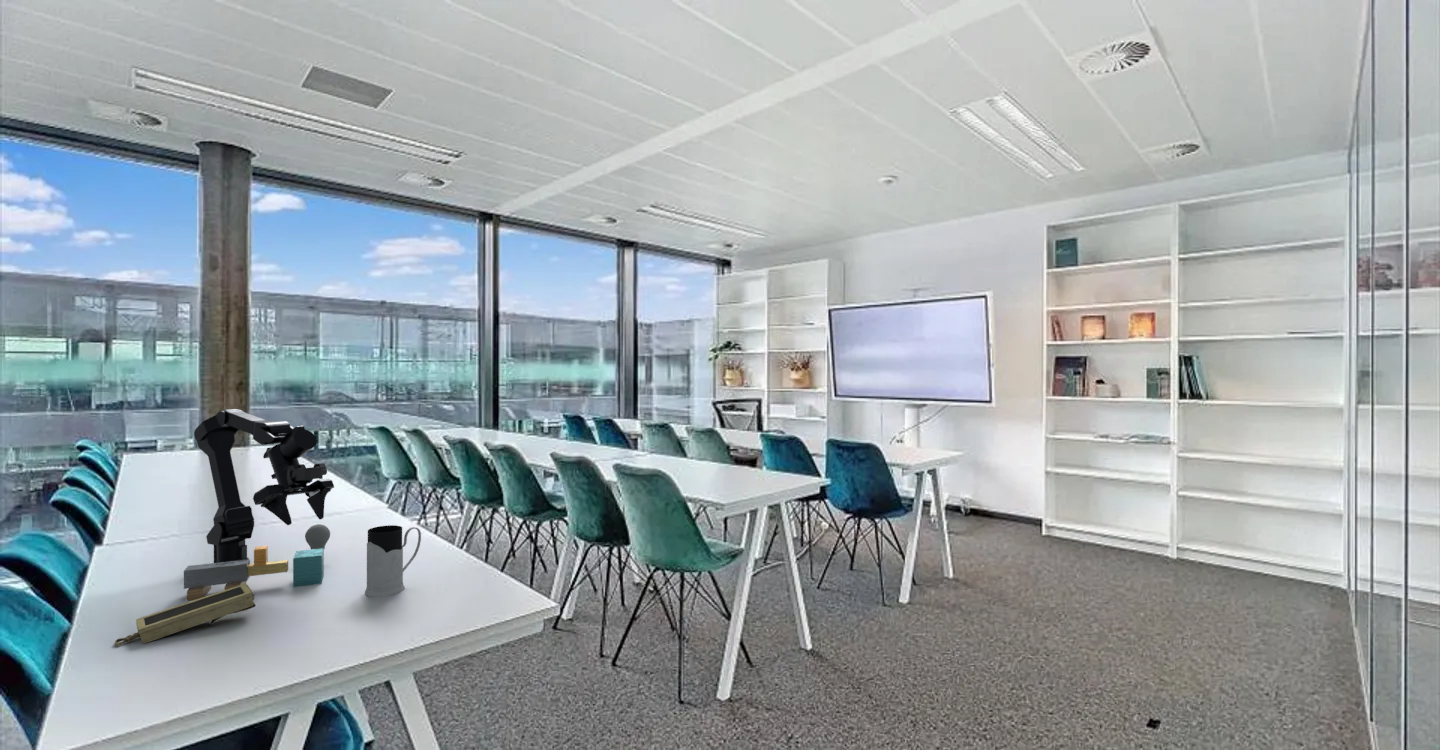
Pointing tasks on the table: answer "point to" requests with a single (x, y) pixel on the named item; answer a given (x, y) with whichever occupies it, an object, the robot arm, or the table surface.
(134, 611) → the table surface
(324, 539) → the light bulb
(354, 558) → the table surface
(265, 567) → the yellow sliding bolt
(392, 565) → the glass holder
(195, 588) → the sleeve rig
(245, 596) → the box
